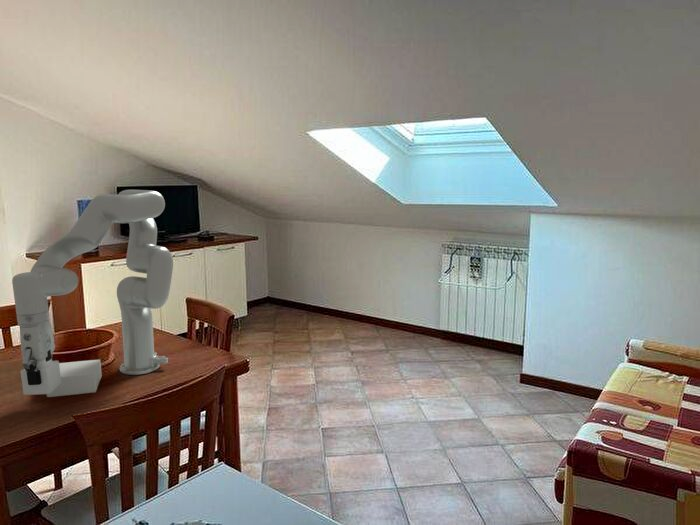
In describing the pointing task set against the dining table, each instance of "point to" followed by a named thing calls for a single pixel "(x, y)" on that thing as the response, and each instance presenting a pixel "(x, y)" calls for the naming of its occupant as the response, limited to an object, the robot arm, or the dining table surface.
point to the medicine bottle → (43, 377)
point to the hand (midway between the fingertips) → (41, 377)
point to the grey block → (78, 378)
